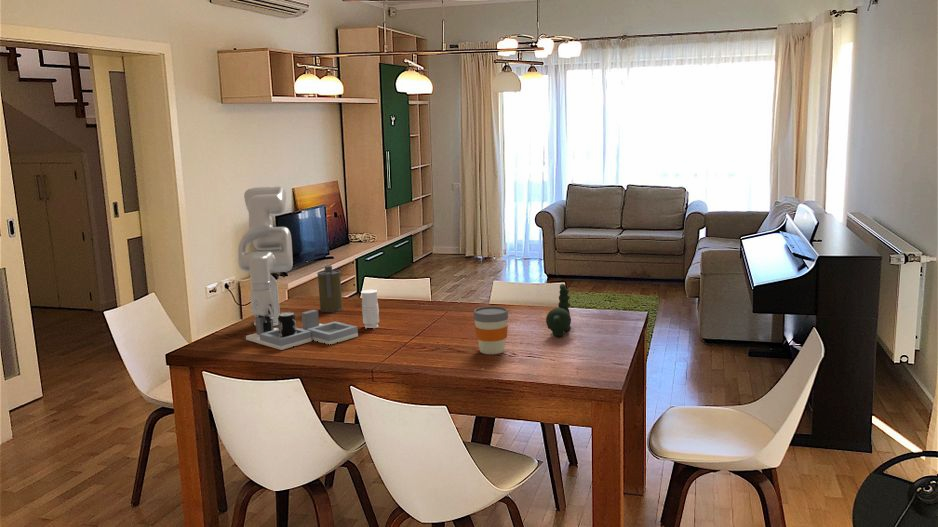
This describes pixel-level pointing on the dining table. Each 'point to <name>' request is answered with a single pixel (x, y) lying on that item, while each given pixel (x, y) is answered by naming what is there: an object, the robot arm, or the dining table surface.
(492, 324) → the reusable coffee cup
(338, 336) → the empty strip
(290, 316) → the beverage can
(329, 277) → the canister
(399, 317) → the dining table surface
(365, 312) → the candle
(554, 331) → the toy figurine
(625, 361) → the dining table surface
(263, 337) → the grey tray
